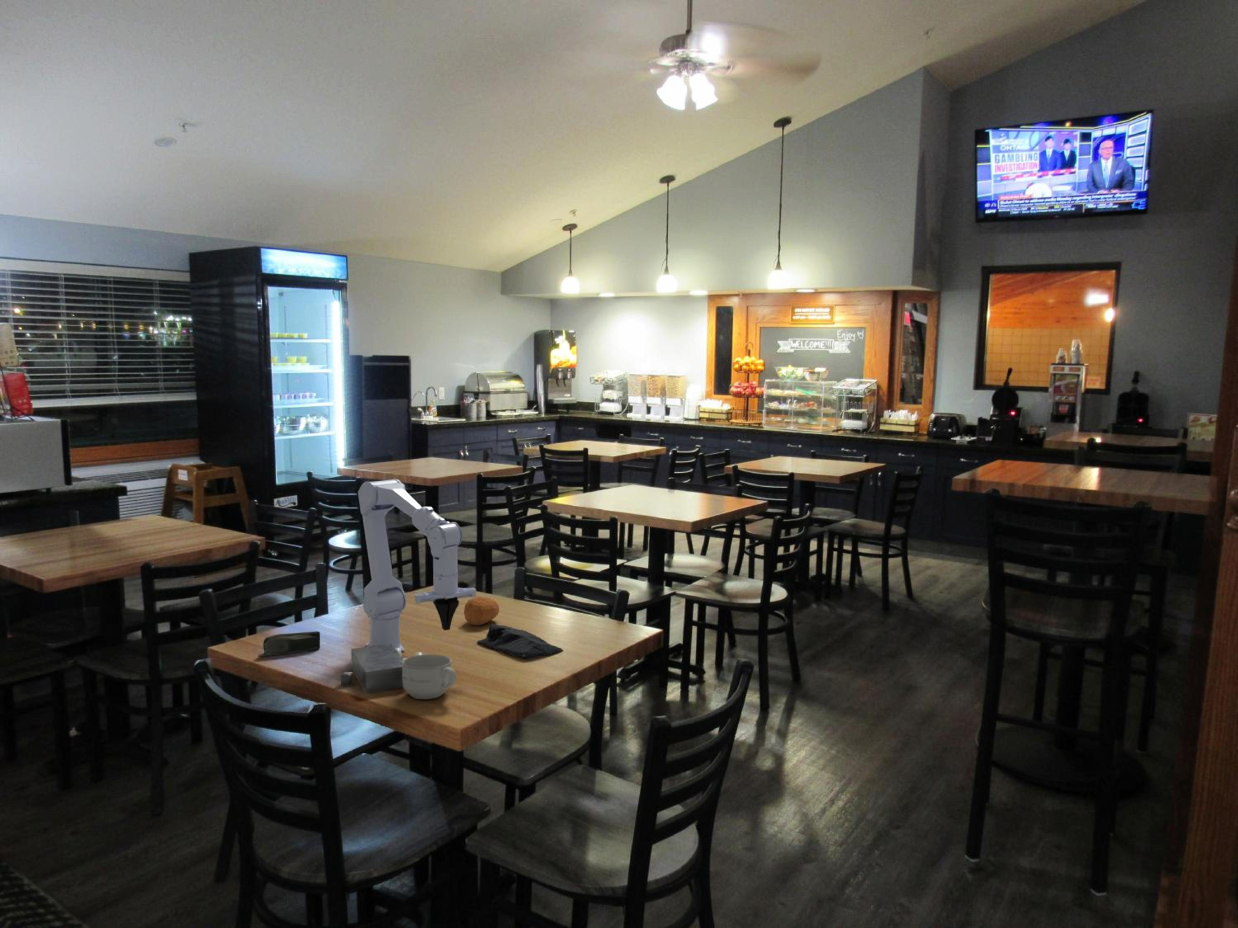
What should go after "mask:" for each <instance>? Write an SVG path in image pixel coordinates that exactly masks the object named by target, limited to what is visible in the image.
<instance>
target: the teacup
mask: <svg viewBox="0 0 1238 928" xmlns="http://www.w3.org/2000/svg"><path fill="white" fill-rule="evenodd" d="M405 658H406V659H404V660H403V661H402V680H403V687H404V688H403V689H404V691H405V692H406V693H408V694H409V695H410V696H411V697H412V698H413V699H417V700H432V699H436V698H439V697H441V696H442V695H443V694H444V693H445V692H447V690H448V689H449V688H450V687H451V688H452V686H454V684H455V683H456V681H457V674H456V671H455V669H454V668H453V667H452V662H453V660H452V659H451V657H448V656H446V655H441V654H422V655H419V656H415V655H414V656H413V655H412V656H409V657H405Z"/></svg>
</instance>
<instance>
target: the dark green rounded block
mask: <svg viewBox="0 0 1238 928" xmlns="http://www.w3.org/2000/svg"><path fill="white" fill-rule="evenodd" d="M262 643H263V644H262V647H263V653H261V654H258V655H257V657H258V658H262V657H270V656H279V655H281V656H283V655H290V654H297V653H306V652H307V653H308V652H313V651H314V652H315V651H317V650H320V648H321V632H320V631H318V630H317V631H301V632H291V633H289V632H288V633H277V634H273V635H269V636H267V637H265V638H264V640H263V642H262Z"/></svg>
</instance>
